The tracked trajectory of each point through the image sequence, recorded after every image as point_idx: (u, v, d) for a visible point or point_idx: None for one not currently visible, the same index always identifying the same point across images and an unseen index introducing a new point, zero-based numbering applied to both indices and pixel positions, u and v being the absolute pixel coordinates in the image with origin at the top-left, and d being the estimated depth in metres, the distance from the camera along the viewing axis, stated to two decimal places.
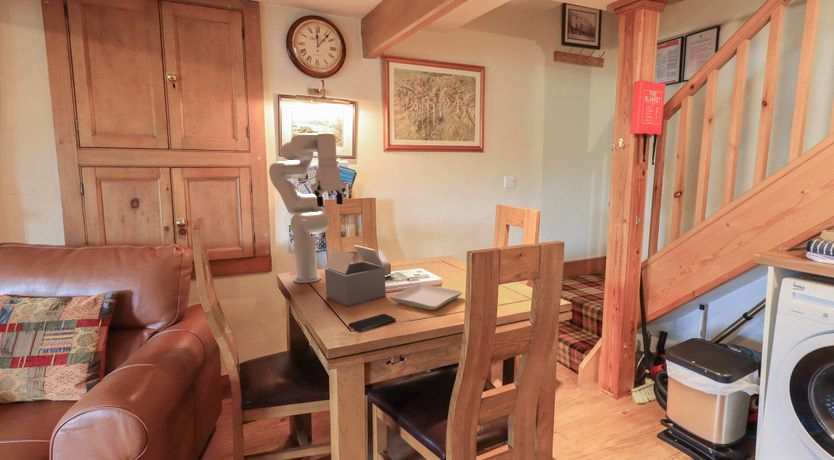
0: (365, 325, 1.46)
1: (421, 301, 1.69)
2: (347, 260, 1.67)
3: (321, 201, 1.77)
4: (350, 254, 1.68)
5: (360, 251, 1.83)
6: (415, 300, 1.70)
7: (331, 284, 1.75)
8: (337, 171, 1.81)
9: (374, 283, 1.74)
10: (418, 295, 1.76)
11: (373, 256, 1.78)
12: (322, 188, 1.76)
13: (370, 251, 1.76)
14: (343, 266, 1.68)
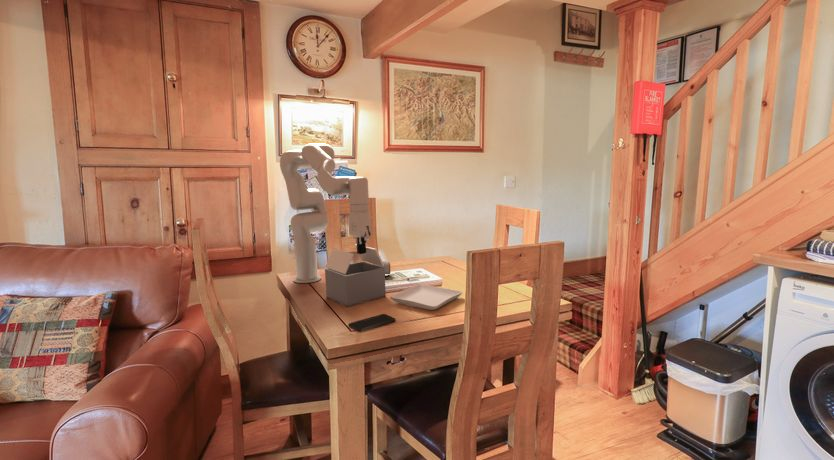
0: (365, 325, 1.46)
1: (421, 301, 1.69)
2: (347, 260, 1.67)
3: (365, 248, 1.78)
4: (350, 254, 1.68)
5: None
6: (415, 300, 1.70)
7: (331, 284, 1.75)
8: None
9: (374, 283, 1.74)
10: (418, 295, 1.76)
11: (373, 256, 1.78)
12: (370, 233, 1.75)
13: (371, 250, 1.76)
14: (343, 266, 1.68)
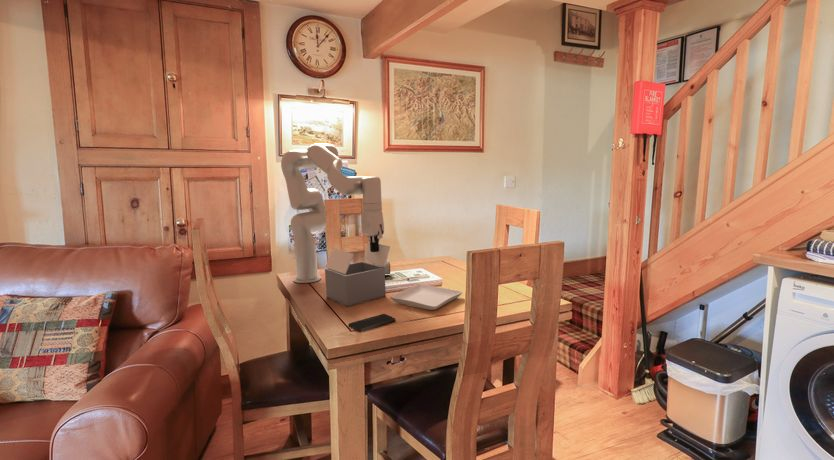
0: (365, 325, 1.46)
1: (421, 301, 1.69)
2: (347, 260, 1.67)
3: (377, 246, 1.82)
4: (350, 254, 1.68)
5: None
6: (415, 300, 1.70)
7: (331, 284, 1.75)
8: None
9: (374, 283, 1.74)
10: (418, 295, 1.76)
11: (381, 254, 1.80)
12: (383, 231, 1.78)
13: (384, 247, 1.80)
14: (343, 266, 1.68)
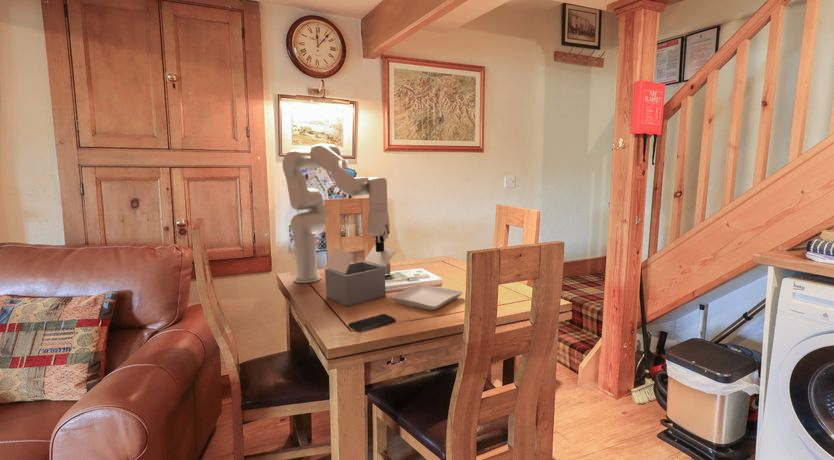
0: (365, 325, 1.46)
1: (421, 301, 1.69)
2: (347, 260, 1.67)
3: (383, 246, 1.84)
4: (350, 254, 1.68)
5: (375, 251, 1.88)
6: (415, 300, 1.70)
7: (331, 284, 1.75)
8: None
9: (374, 283, 1.74)
10: (418, 295, 1.76)
11: (384, 256, 1.81)
12: (389, 232, 1.80)
13: (389, 250, 1.82)
14: (343, 266, 1.68)
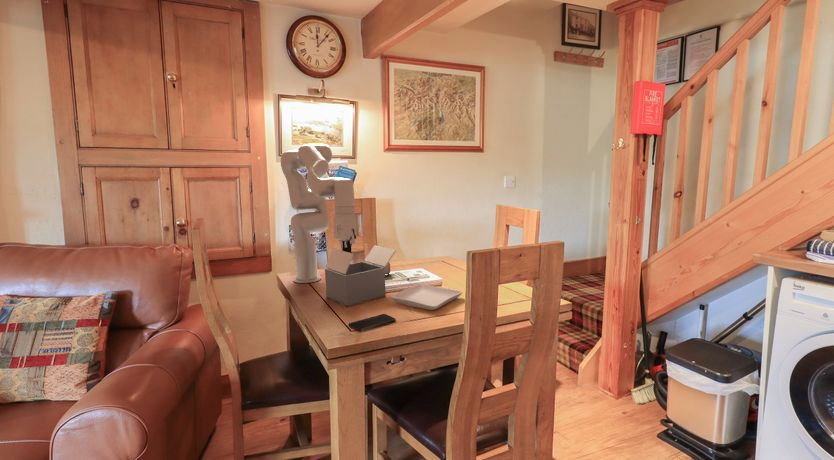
0: (365, 325, 1.46)
1: (421, 301, 1.69)
2: (347, 260, 1.67)
3: (350, 251, 1.74)
4: (350, 254, 1.68)
5: (375, 251, 1.88)
6: (415, 300, 1.70)
7: (331, 284, 1.75)
8: None
9: (374, 283, 1.74)
10: (418, 295, 1.76)
11: (384, 256, 1.81)
12: (356, 236, 1.70)
13: (389, 250, 1.82)
14: (343, 266, 1.68)
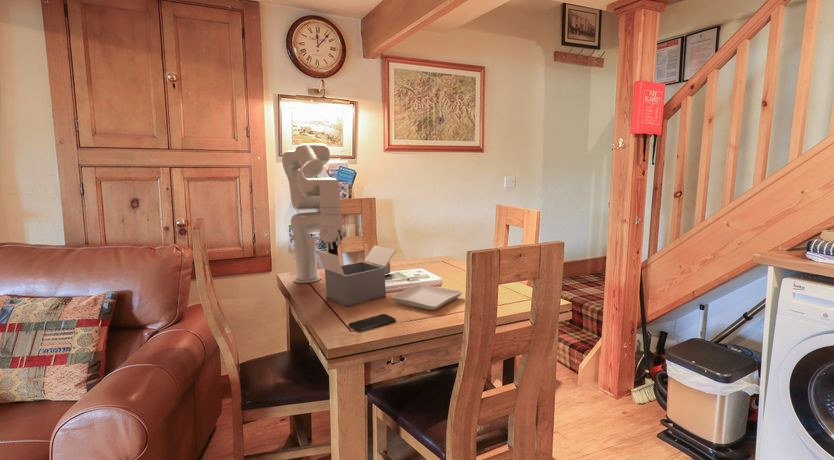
0: (365, 325, 1.46)
1: (421, 301, 1.69)
2: (336, 262, 1.64)
3: (336, 253, 1.70)
4: (334, 256, 1.63)
5: (375, 251, 1.88)
6: (415, 300, 1.70)
7: (331, 284, 1.75)
8: None
9: (374, 283, 1.74)
10: (418, 295, 1.76)
11: (384, 256, 1.81)
12: (342, 237, 1.66)
13: (389, 250, 1.82)
14: (337, 268, 1.66)
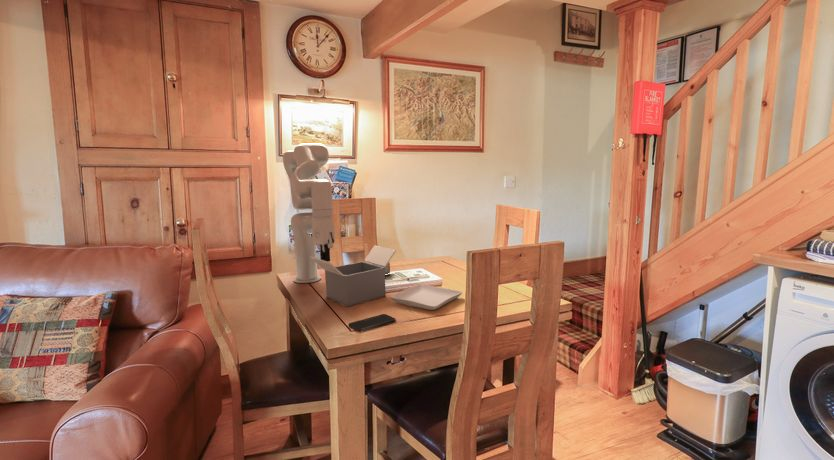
0: (365, 325, 1.46)
1: (421, 301, 1.69)
2: (331, 267, 1.63)
3: (329, 255, 1.68)
4: (327, 263, 1.62)
5: (375, 251, 1.88)
6: (415, 300, 1.70)
7: (331, 284, 1.75)
8: None
9: (374, 283, 1.74)
10: (418, 295, 1.76)
11: (384, 256, 1.81)
12: (334, 240, 1.64)
13: (389, 250, 1.82)
14: (335, 271, 1.65)
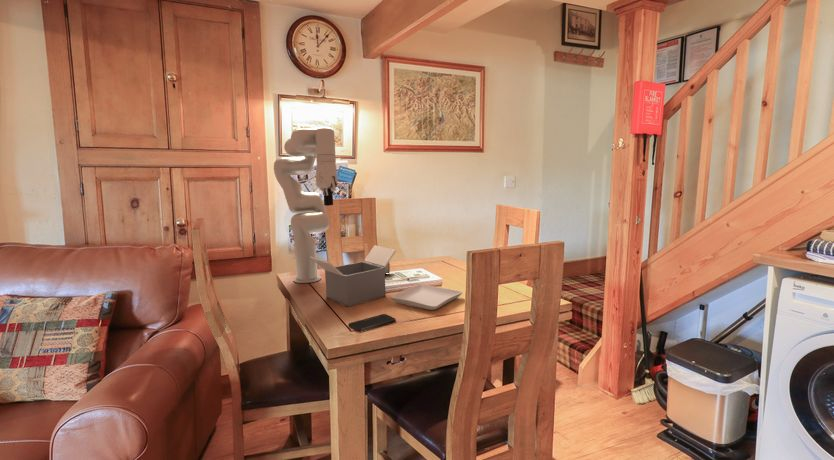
0: (365, 325, 1.46)
1: (421, 301, 1.69)
2: (331, 267, 1.63)
3: (332, 200, 1.79)
4: (327, 263, 1.62)
5: (375, 251, 1.88)
6: (415, 300, 1.70)
7: (331, 284, 1.75)
8: None
9: (374, 283, 1.74)
10: (418, 295, 1.76)
11: (384, 256, 1.81)
12: (337, 184, 1.75)
13: (389, 250, 1.82)
14: (335, 271, 1.65)
